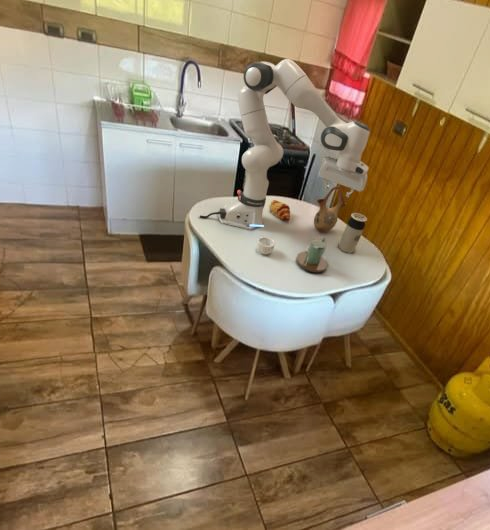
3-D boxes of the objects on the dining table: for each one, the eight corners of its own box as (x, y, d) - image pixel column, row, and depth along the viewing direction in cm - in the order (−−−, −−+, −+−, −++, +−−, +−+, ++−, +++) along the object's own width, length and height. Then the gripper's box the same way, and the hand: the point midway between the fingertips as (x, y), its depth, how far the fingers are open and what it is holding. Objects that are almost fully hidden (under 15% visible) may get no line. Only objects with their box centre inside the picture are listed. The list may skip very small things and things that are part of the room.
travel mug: (335, 244, 187) (347, 212, 177) (348, 243, 190) (361, 212, 180) (343, 253, 182) (356, 221, 171) (356, 253, 184) (371, 221, 174)
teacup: (274, 257, 168) (276, 247, 165) (257, 256, 166) (260, 246, 163) (268, 244, 176) (271, 234, 173) (252, 243, 174) (255, 233, 171)
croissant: (266, 209, 212) (262, 198, 207) (282, 202, 213) (279, 190, 207) (281, 228, 196) (278, 217, 191) (298, 220, 197) (296, 208, 192)
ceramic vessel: (331, 226, 203) (348, 183, 188) (339, 235, 196) (356, 191, 181) (304, 225, 198) (318, 181, 183) (310, 234, 191) (326, 189, 176)
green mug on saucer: (321, 276, 160) (328, 257, 154) (291, 263, 165) (297, 243, 159) (331, 260, 172) (339, 242, 166) (303, 248, 176) (310, 230, 170)
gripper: (322, 156, 157) (312, 187, 165) (369, 172, 151) (357, 203, 159) (326, 153, 162) (316, 182, 170) (372, 168, 156) (360, 198, 164)
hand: (336, 193), depth 164 cm, fingers open, 8 cm apart
